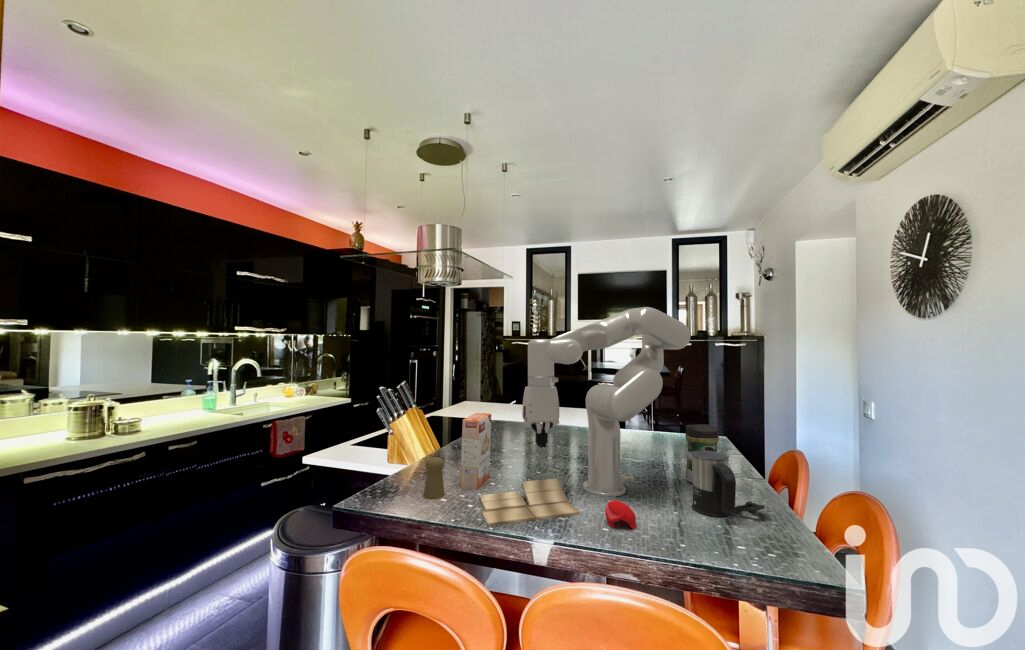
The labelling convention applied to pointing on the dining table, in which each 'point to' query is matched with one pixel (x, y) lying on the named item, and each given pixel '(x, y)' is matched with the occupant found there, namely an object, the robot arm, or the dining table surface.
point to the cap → (620, 513)
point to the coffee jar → (699, 443)
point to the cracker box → (475, 450)
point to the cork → (434, 478)
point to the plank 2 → (543, 491)
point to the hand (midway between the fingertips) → (541, 446)
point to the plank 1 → (501, 500)
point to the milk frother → (715, 485)
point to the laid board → (528, 513)
